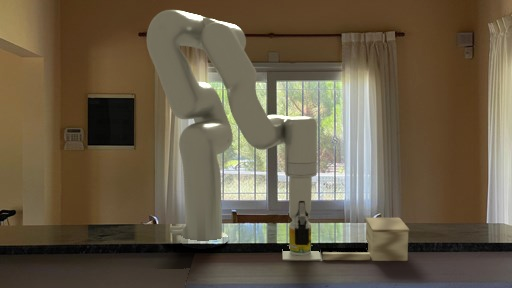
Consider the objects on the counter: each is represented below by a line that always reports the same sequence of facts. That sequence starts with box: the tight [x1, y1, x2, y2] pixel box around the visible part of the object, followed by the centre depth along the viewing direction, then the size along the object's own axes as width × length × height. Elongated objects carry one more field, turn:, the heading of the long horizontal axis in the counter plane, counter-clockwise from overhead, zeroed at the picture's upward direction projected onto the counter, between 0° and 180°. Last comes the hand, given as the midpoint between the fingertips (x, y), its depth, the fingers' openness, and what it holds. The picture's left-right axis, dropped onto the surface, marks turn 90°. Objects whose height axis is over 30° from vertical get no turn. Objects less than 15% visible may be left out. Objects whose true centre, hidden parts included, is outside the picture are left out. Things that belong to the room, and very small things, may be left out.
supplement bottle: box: [288, 214, 312, 256], centre depth 118 cm, size 5×5×10 cm
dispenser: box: [318, 217, 410, 262], centre depth 117 cm, size 21×10×8 cm, turn 87°
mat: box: [282, 250, 321, 261], centre depth 118 cm, size 9×9×1 cm
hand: (300, 237), depth 118 cm, fingers open, 9 cm apart
